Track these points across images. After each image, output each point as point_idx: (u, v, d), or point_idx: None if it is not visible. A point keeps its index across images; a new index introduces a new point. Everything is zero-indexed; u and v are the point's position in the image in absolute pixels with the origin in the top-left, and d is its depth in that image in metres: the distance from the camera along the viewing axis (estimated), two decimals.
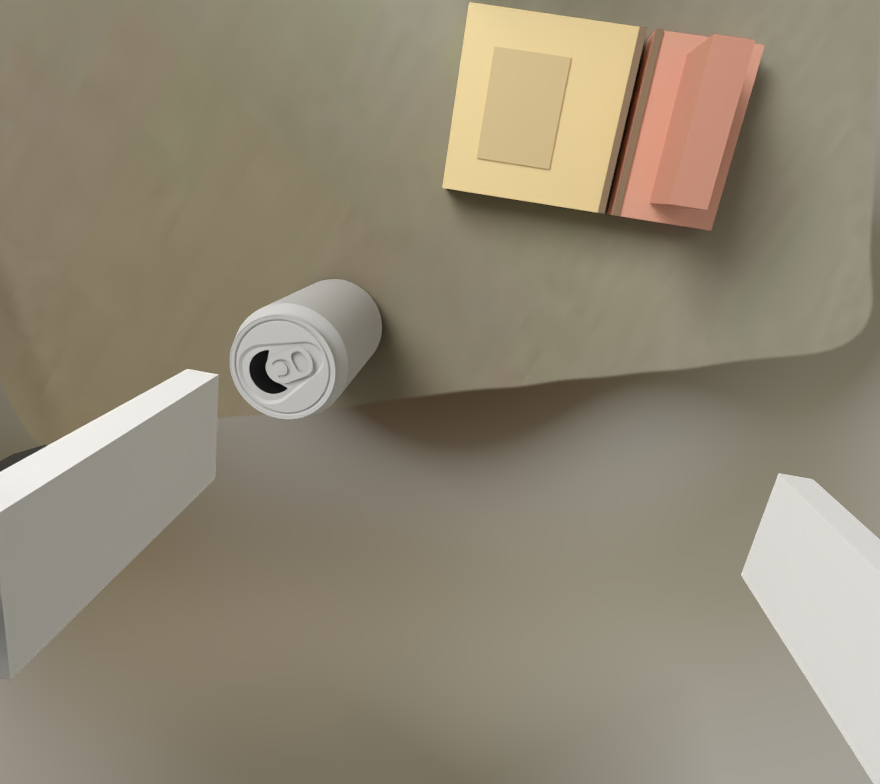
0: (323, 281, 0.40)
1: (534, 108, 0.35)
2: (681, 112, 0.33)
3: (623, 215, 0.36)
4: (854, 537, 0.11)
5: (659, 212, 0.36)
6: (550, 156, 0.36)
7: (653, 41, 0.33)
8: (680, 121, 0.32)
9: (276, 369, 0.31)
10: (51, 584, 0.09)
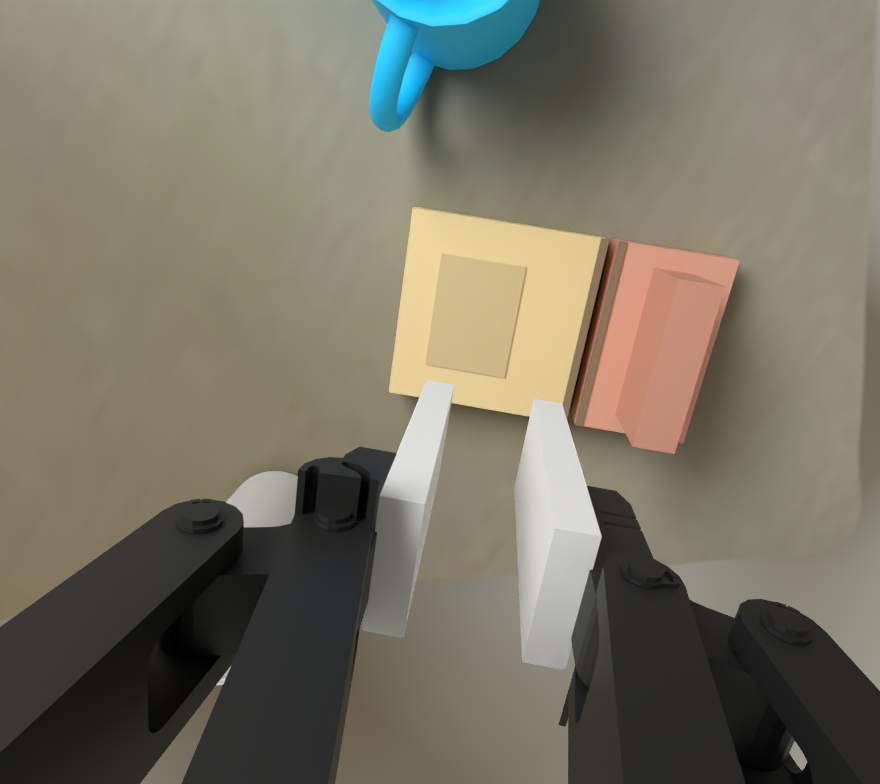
0: (263, 479, 0.36)
1: (487, 316, 0.32)
2: (646, 338, 0.29)
3: (587, 425, 0.33)
4: (551, 437, 0.13)
5: None
6: (505, 364, 0.32)
7: (616, 253, 0.30)
8: (645, 349, 0.29)
9: None
10: (417, 561, 0.11)
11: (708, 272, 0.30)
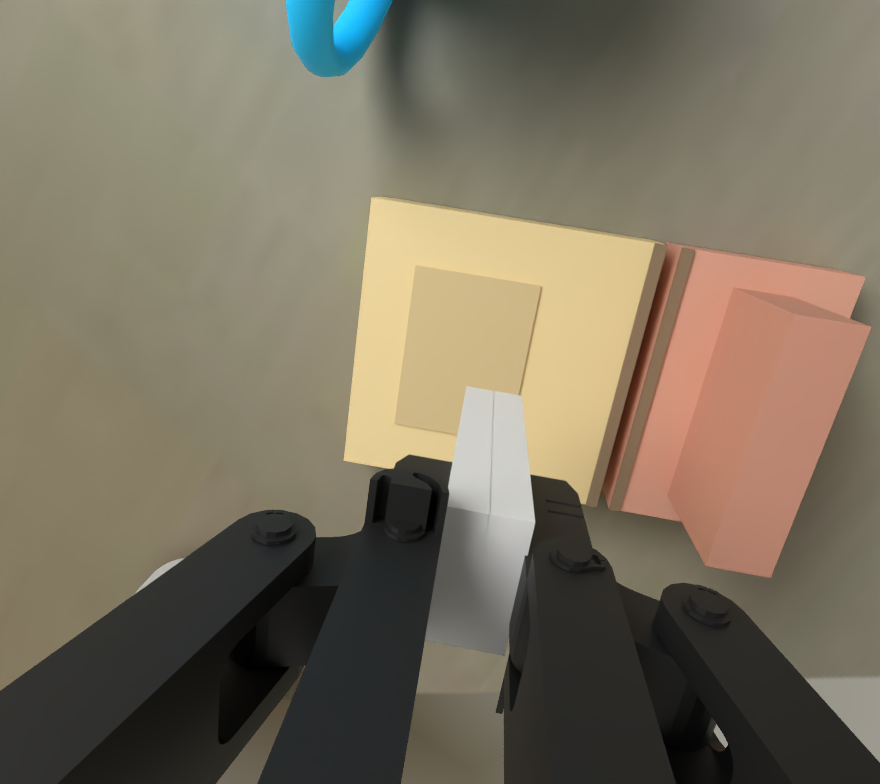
0: None
1: (483, 358, 0.22)
2: (725, 397, 0.19)
3: (626, 510, 0.23)
4: (503, 428, 0.13)
5: None
6: None
7: (677, 265, 0.20)
8: (723, 413, 0.19)
9: None
10: None
11: (816, 294, 0.20)
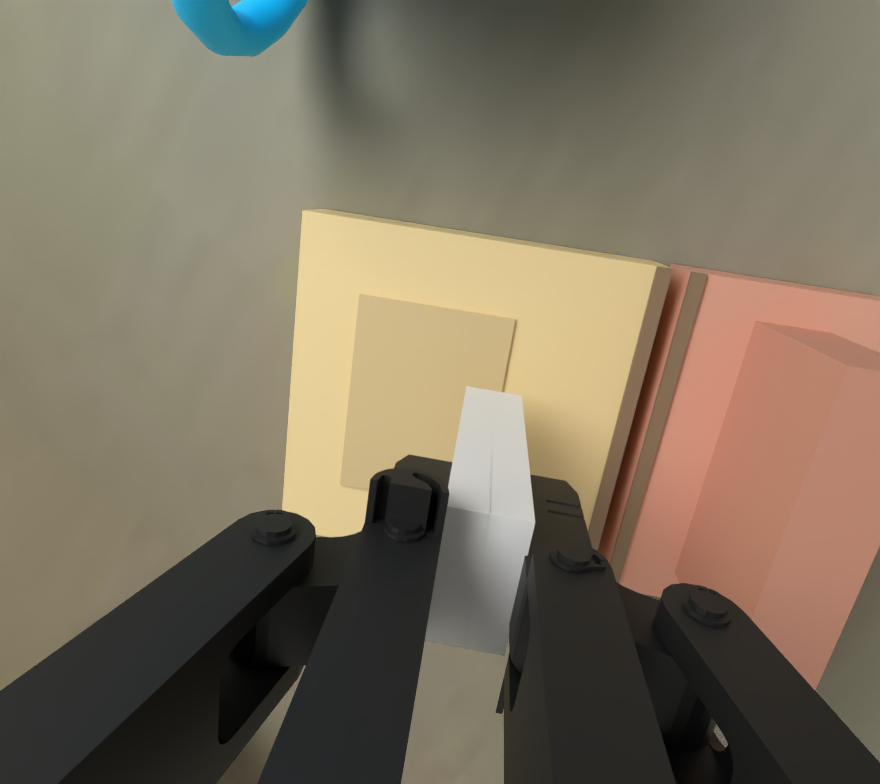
0: None
1: (445, 407, 0.17)
2: (748, 461, 0.15)
3: None
4: (503, 428, 0.13)
5: None
6: None
7: (685, 294, 0.16)
8: (747, 483, 0.15)
9: None
10: None
11: (860, 330, 0.16)
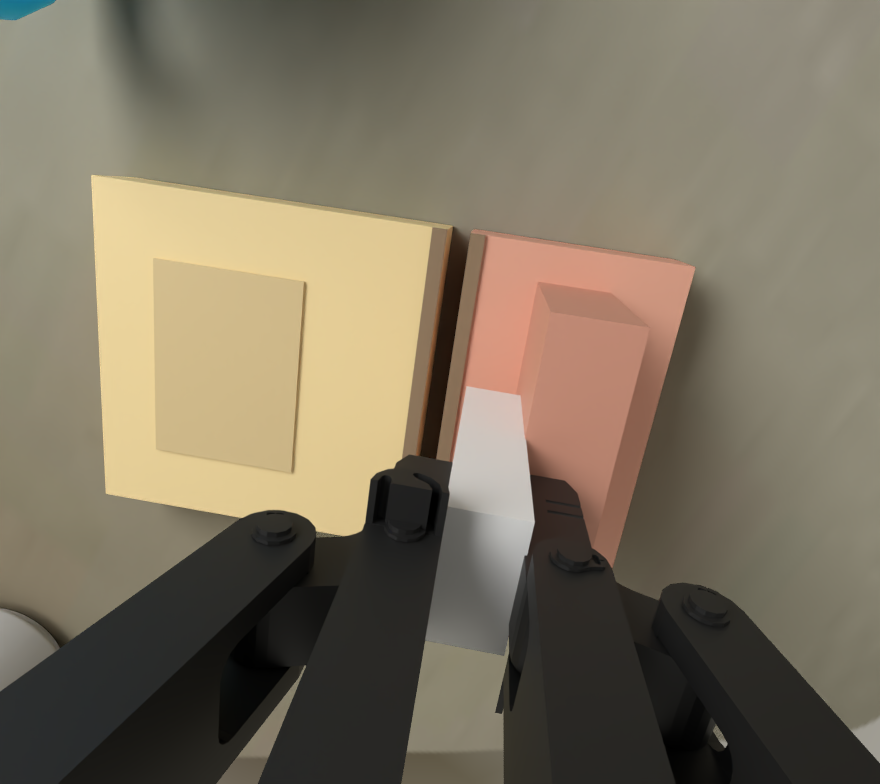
0: None
1: (247, 370, 0.18)
2: None
3: None
4: (503, 428, 0.13)
5: None
6: (290, 451, 0.19)
7: (468, 255, 0.16)
8: None
9: None
10: None
11: (637, 289, 0.16)
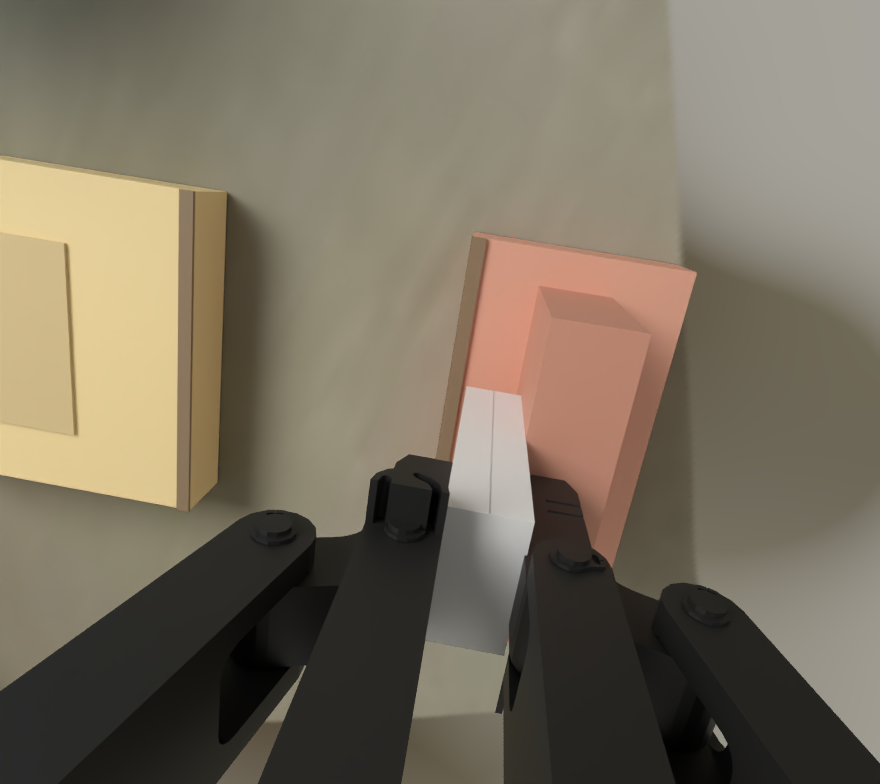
0: None
1: (20, 331, 0.18)
2: None
3: None
4: (503, 428, 0.13)
5: None
6: (71, 413, 0.19)
7: (469, 259, 0.16)
8: None
9: None
10: None
11: (639, 294, 0.16)
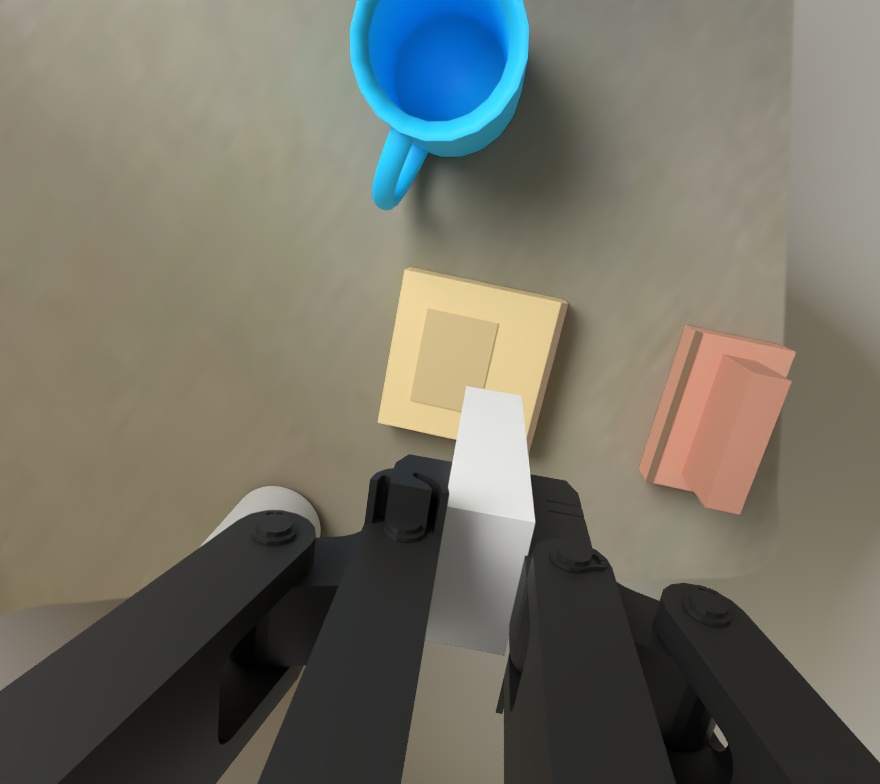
0: (264, 493, 0.41)
1: (464, 363, 0.37)
2: (717, 415, 0.35)
3: (656, 482, 0.38)
4: (504, 428, 0.13)
5: None
6: None
7: (692, 340, 0.36)
8: (716, 424, 0.35)
9: None
10: None
11: (769, 360, 0.36)
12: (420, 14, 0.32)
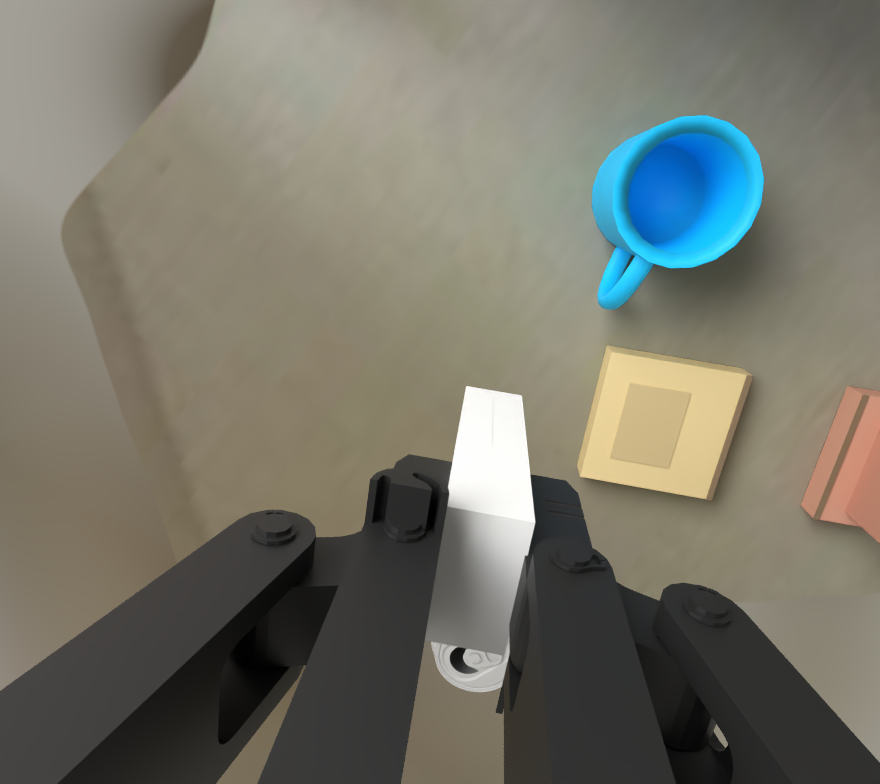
0: None
1: (659, 426, 0.44)
2: None
3: (822, 519, 0.45)
4: (503, 428, 0.13)
5: (852, 518, 0.45)
6: (670, 459, 0.45)
7: (860, 402, 0.42)
8: None
9: (471, 658, 0.40)
10: None
11: None
12: None
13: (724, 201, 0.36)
